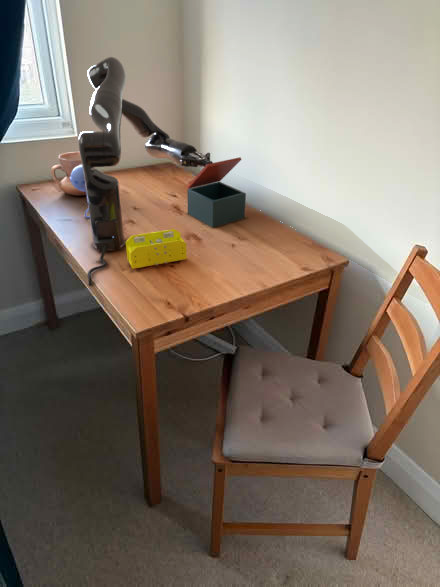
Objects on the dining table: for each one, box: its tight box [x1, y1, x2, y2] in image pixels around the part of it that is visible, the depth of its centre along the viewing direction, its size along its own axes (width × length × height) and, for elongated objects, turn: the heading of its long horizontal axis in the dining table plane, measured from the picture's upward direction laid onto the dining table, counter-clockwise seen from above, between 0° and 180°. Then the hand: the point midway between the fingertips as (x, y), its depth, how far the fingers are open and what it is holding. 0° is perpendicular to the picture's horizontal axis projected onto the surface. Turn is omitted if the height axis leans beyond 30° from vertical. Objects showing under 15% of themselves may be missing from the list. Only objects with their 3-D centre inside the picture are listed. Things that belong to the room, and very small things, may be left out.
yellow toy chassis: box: [125, 228, 188, 269], centre depth 128 cm, size 16×6×8 cm, turn 114°
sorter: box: [186, 181, 247, 228], centre depth 157 cm, size 14×14×9 cm
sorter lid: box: [186, 156, 242, 189], centre depth 153 cm, size 15×14×1 cm
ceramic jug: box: [50, 150, 86, 196], centre depth 173 cm, size 18×14×14 cm
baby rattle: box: [70, 165, 90, 219], centre depth 151 cm, size 9×9×18 cm
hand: (211, 165), depth 153 cm, fingers closed
